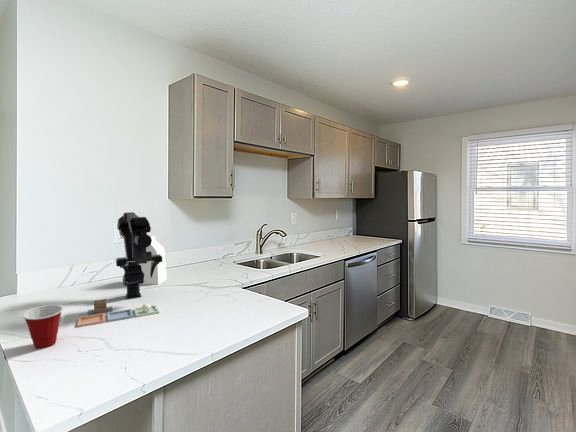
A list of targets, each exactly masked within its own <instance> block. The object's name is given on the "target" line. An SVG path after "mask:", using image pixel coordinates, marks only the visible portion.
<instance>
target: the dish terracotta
mask: <svg viewBox="0 0 576 432" xmlns="http://www.w3.org/2000/svg"><path fill="white" fill-rule="evenodd" d="M105 316H106V314H105V313H103V314H96V315H90V316H88V315H86V316H85V315H83V316H79V317H78V321H77V324H76V325H77V328H82V327H87V326H93V325H99V324H104V323H106V319H105V318H106V317H105Z"/></svg>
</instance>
